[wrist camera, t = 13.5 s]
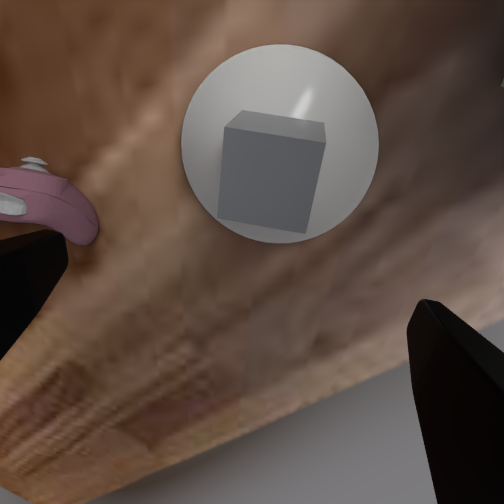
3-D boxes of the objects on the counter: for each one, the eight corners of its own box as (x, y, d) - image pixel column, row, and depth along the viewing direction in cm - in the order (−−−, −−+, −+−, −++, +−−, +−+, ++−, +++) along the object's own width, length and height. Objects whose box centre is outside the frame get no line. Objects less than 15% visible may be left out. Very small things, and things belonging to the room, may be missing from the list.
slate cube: (324, 122, 17) (326, 143, 14) (307, 199, 19) (305, 234, 16) (242, 109, 18) (224, 126, 14) (234, 187, 20) (217, 218, 16)
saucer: (339, 0, 16) (340, -3, 15) (398, 201, 20) (402, 208, 19) (152, 100, 19) (145, 103, 18) (236, 255, 23) (232, 264, 22)
